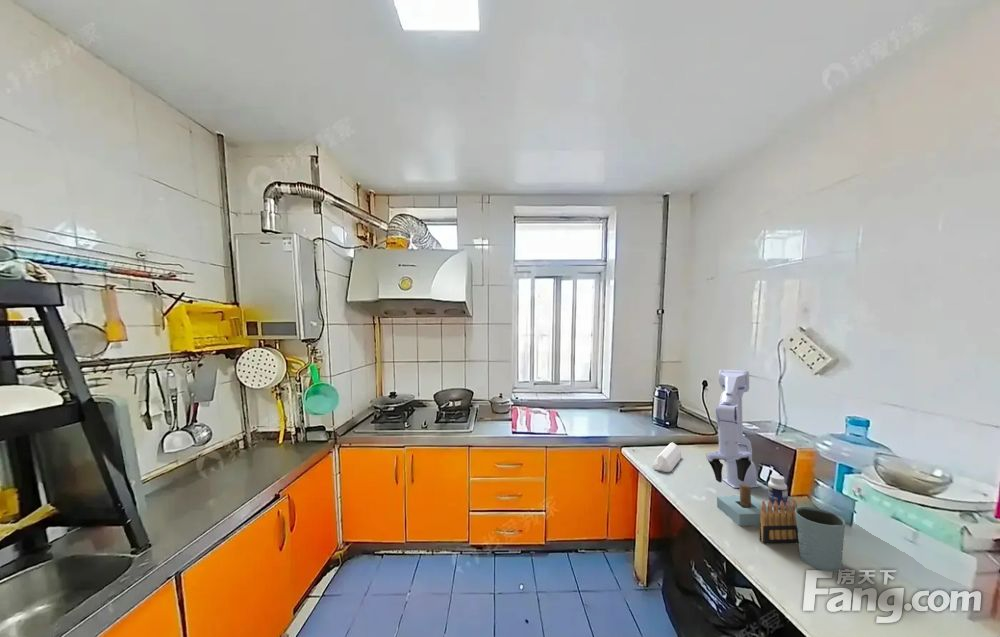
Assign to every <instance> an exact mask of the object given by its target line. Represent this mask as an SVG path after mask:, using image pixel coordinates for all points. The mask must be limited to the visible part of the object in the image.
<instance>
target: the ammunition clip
mask: <svg viewBox="0 0 1000 637" xmlns="http://www.w3.org/2000/svg"><path fill="white" fill-rule="evenodd" d="M761 502H762V504H761V523H760V525H759V541H760V542H761V543H762V544H764V545H789V544H793V545H795V544H798V545H799V540H798V528H797V523H796V516H795V509H796V508H798V504H797V501H796V499H793V501H792V504H791V503H790V500H789V499H788V500H787V503H786V508H785V507H784V503H783V501H782V500H781V502H780V508H778V504H777V501H776V500H775V501H774V506H772V504H771V501H770V500H769V501H767V505H766V502H765V500H762V501H761ZM766 506H767V512H766ZM772 510H773V511H772Z"/></svg>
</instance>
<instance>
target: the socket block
mask: <svg viewBox="0 0 1000 637" xmlns="http://www.w3.org/2000/svg"><path fill="white" fill-rule="evenodd" d="M761 504H762V501H761V500H760V499H758V498H756V497H754V496H753V495H752V494H751V508H743V507H741V506H740V495H728V496H726V495H725V496H716V507H717V508H718V509H719V510H721V512H723V513H724V514H725V515H726V516H727V517H728V518H730V519H731V520H732V521H733V522H734V523H736V524H737V525H738V526H740V527H741V526H744V527H745V526H747V527H748V526H760V523H761ZM773 510H774V509H772V511H773ZM766 512H767V505H766Z"/></svg>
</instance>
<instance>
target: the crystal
mask: <svg viewBox="0 0 1000 637" xmlns="http://www.w3.org/2000/svg"><path fill="white" fill-rule="evenodd" d="M681 459H682V452H681V450H680V448H679V446H678V445H677V444H676V443H674V442H673V441H672V442H670V443H669V444H668V445H667V446H666V447H665V448H664V449H663V450H662V451H661V452H660V453H659V454H658V455H657V457H656V458H655V460H654V461H653V462H652V469H653V470H655V471H659V472H665V473H670V472H672V470H673V469H674V468H675V467H676V465H677V464H678V463H679V461H680V460H681Z"/></svg>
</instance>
